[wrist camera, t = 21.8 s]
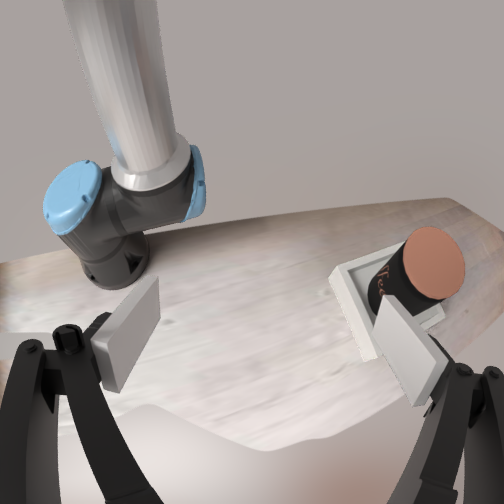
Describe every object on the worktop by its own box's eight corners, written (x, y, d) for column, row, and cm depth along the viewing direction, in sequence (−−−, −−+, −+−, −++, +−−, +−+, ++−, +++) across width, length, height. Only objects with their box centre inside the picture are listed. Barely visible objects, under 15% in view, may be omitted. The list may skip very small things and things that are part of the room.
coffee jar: (383, 260, 53) (422, 212, 36) (422, 293, 49) (473, 256, 33) (354, 301, 50) (391, 264, 33) (396, 336, 46) (449, 314, 30)
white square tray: (327, 279, 56) (336, 265, 50) (394, 254, 59) (407, 239, 53) (363, 362, 48) (377, 357, 42) (428, 325, 51) (446, 316, 46)
